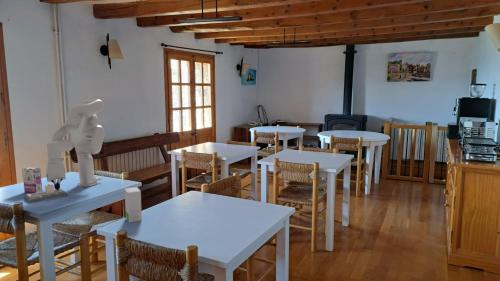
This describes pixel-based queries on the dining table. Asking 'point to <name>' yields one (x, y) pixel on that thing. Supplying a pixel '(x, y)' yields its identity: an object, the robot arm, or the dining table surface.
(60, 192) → the console
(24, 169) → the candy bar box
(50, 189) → the fader knob
